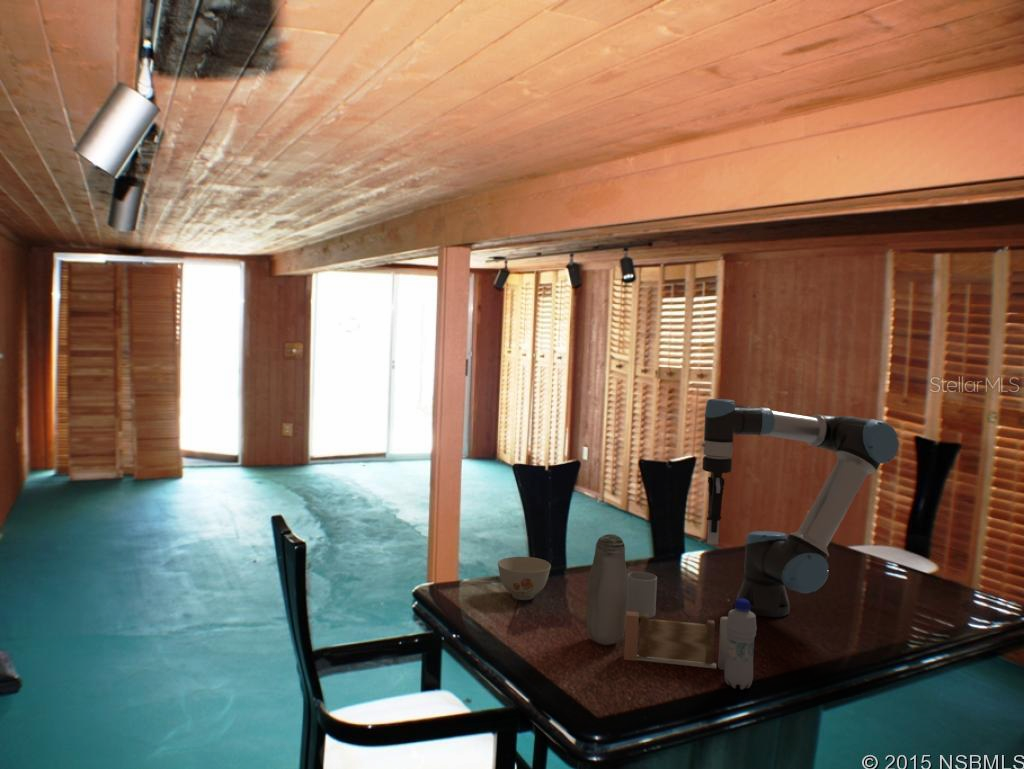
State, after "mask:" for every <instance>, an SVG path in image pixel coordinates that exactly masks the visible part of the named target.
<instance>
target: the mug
mask: <svg viewBox="0 0 1024 769" xmlns="http://www.w3.org/2000/svg"><path fill="white" fill-rule="evenodd" d="M627 575H628V584H629V588H628V603H627V611H631V612H639V619H641V614H649V619H653V618H654V617H655V616H656V609H657V606H656V605H657V603H656V602H657V589H658V588H657V586H658V585H657V584H658V576H656V575H655V574H653V573H650V572H647V571H631V572H629V573H627Z"/></svg>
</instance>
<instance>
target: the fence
mask: <svg viewBox="0 0 1024 769" xmlns="http://www.w3.org/2000/svg"><path fill="white" fill-rule="evenodd" d="M639 619H640V618H639V612H631V611H626V628H625V632H624V634H625V635H624V636H625V637H624V655H623V660H626V661H633V662H635V661H636V662H637V661H643V662H650V663H651V662H652V663H659V664H660V663H661V664H670V665H678V666H679V665H680V666H690V667H697V668H708V669H715V670H716V669H717V668H718V670H721V671H724V670H725V662H726V651H727V632H726V629H727V627H726V623H727V619H728V616H721V617H720V623H719V638H718V639H719V640H718V642H719V643H718V658H717V663H715V662H713V664H708V663H703V662H694V661H684V660H674V659H665V658H655V657H641V656H639V654H638V640H639Z"/></svg>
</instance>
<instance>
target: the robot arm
mask: <svg viewBox="0 0 1024 769" xmlns="http://www.w3.org/2000/svg"><path fill="white" fill-rule="evenodd" d="M704 411H705V413H704V430H703V431H704V434H703V435H704V436H703V440H704V441H703V443H701V444H700V445H701V448H703V453H702V454H703V455H704V456H703V457H702V467H701V468H702V470H703V471H705V472H709V473H710V476H707V483H708V489H707V490H708V508H707V509H708V511H707V514H708V515H707V517H706V520H707V522H708V523H707V525H708V526H707V538H706V539H707V544H708V545H719V536H720V533H719V532H720V521H721V519H722V503H723V493H724V486H725V479H724V477H723V474H729V473H731V472H732V466H733V465H732V461H733V460H732V458H731V457H732V456H733V453H734V452H733V448H734V436H738V435H742V436H743V435H745V436H747V435H748V436H767V437H771V438H772V437H774V438H779V439H786V440H794V441H800V442H806V444H808V446H810V447H816V448H817V447H818V448H821V449H823V450H828V451H831V452H834V453H835V454H836V458H837V461H836V463H835V465H834V466H833V468H832V469H831V472H830V473H829V475H828V477H827V479H826V480H825V482H824V484H823V486H822V488H821V490H820V491H819V493H818V495H817V496H816V498H815V499H814V501H813V503H812V505H811V507H810V508H809V511H808V512H807V514H806V515H805V518H804V519H803V521H802V522H801V525H800V526H799V528H798V530H797V531H794V532H791V533H789V534H787V533H784V532H779V531H770V530H769V531H767V530H766V531H765V530H764V531H763V530H762V531H760V530H759V531H757V530H756V531H751V532H749V533H747V534H746V539H745V544H744V547H745V548H744V550H745V551H744V565H743V566H744V568H743V580H742V584H741V586H740V589H739V590H738V593H737V596H736V600H737V599H746V600H748V601H749V602H750V610H749V611H751V612H752V613H754V614H755V616H758V617H759V616H760V617H767V618H781V617H785V616H787V615H789V614H790V607H791V606H790V600H789V597H788V593H787V590H786V588H788V590H791V591H795V592H797V593H801V594H810V593H814V592H816V591H818V590H819V589H821V588H822V587H823V585H824V584H825V583H826V581H827V580H828V577H829V570H828V569H829V568H830V567H829V564H828V561H827V560H828V558H829V557H830V554H829V552H828V546H829V544H830V542H831V540H832V538H833V537H834V535H835V533H836V532H837V530H838V528H839V526H840V524H841V522H842V521H843V519H844V517H845V516H846V513H847V512H848V510H849V508H850V506H851V505H852V504H853V501H854V500H855V498H856V495H858V494H857V493H859V490H860V488H861V487H862V485H863V483H864V481H865V480H866V478H867V476H868V475H871V474H874V473H875V474H876V472H877V471H878V468H879V467H880V464H888V463H889V462H891V461H893V460H894V458H895V457H896V455H897V454H898V451H899V450H898V449H899V445H900V444H899V442H900V441H899V439H898V434H897V432H896V429H895V428H894V427H893V426H892V425H891V424H890V423H888V422H886V421H882V420H879V419H876V418H875V419H874V418H872V419H870V418H863V417H855V416H850V415H823V414H812V415H810V416H808V415H801V414H796V413H789V412H784V411H783V412H782V411H777V410H772V409H770V408H769V407H761V406H754V407H753V406H746V405H741V404H736V403H735V401H734V400H732V399H728V398H727V399H726V398H710V399H708V400H707V401H706V405H705V410H704Z"/></svg>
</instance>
